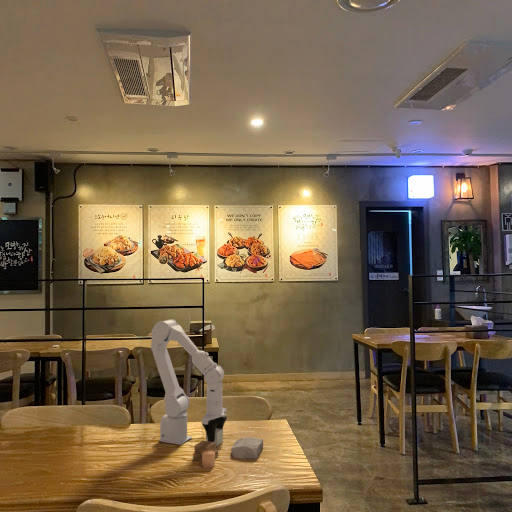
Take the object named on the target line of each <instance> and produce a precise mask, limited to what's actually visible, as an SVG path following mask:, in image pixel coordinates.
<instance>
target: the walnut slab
mask: <svg viewBox="0 0 512 512" xmlns="http://www.w3.org/2000/svg"><path fill="white" fill-rule="evenodd" d="M214 452H215V459H216V458H217V457H219V450H218V449H216V448H215V451H214ZM192 460H193V461H197V462H201V463H202V454H196V453H195V451H194V452H193V453H192Z"/></svg>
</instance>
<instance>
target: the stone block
mask: <svg viewBox="0 0 512 512" xmlns="http://www.w3.org/2000/svg"><path fill="white" fill-rule="evenodd" d="M263 448H264V439H263V438H257V437H253V436H252V437H251V436H246V437H241V438H238V439H237V440H236V441H235V442H234V443H233V444H232V446H231V448H230V454H231V456H232V457H233V458H237V459H249V460H251V459H253V460H257V458H258V457H259V455H260V454H261V452H262V450H263Z"/></svg>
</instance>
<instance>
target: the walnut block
mask: <svg viewBox="0 0 512 512" xmlns="http://www.w3.org/2000/svg"><path fill="white" fill-rule="evenodd" d="M215 449H216V446H215V442H209V441H206V440H204V439H203V440H201V441H199V442H198V443H196V444H195V445H194V452H195V453H196V454H202V452H204V451H208V450H211V451H215Z"/></svg>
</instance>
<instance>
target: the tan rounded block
mask: <svg viewBox="0 0 512 512" xmlns="http://www.w3.org/2000/svg"><path fill="white" fill-rule="evenodd" d="M201 466H202V468H204V469H213V468H215V466H216V458H215V452H214V451H211V450H208V451H204V452H202V462H201Z"/></svg>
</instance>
